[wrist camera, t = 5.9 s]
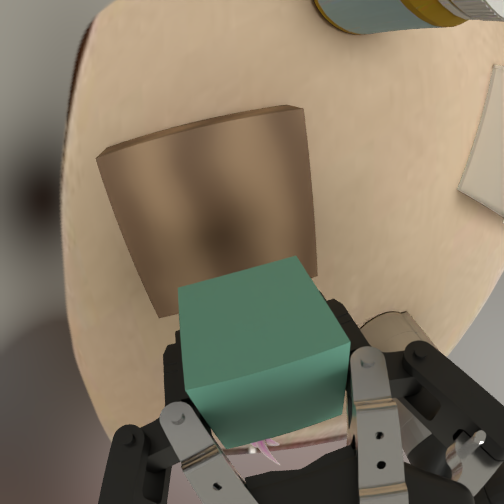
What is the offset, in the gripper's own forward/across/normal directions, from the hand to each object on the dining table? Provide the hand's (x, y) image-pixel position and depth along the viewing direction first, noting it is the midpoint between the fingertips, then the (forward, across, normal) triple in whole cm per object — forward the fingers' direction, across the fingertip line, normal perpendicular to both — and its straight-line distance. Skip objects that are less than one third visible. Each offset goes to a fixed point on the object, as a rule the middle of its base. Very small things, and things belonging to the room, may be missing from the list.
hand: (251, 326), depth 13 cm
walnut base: (+14, 0, 0) cm, 14 cm away
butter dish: (+14, -39, 0) cm, 41 cm away
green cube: (+1, 0, 0) cm, 1 cm away
